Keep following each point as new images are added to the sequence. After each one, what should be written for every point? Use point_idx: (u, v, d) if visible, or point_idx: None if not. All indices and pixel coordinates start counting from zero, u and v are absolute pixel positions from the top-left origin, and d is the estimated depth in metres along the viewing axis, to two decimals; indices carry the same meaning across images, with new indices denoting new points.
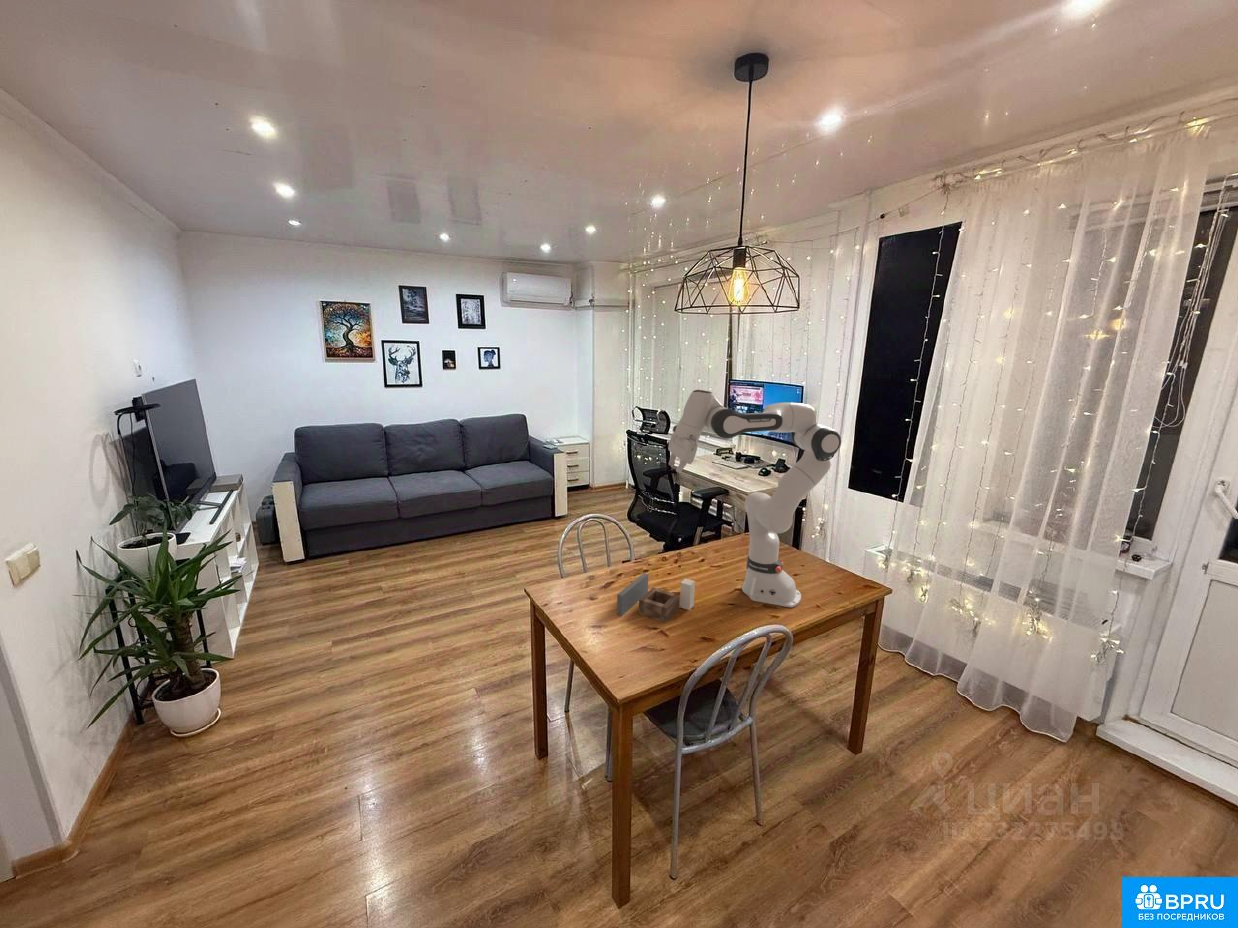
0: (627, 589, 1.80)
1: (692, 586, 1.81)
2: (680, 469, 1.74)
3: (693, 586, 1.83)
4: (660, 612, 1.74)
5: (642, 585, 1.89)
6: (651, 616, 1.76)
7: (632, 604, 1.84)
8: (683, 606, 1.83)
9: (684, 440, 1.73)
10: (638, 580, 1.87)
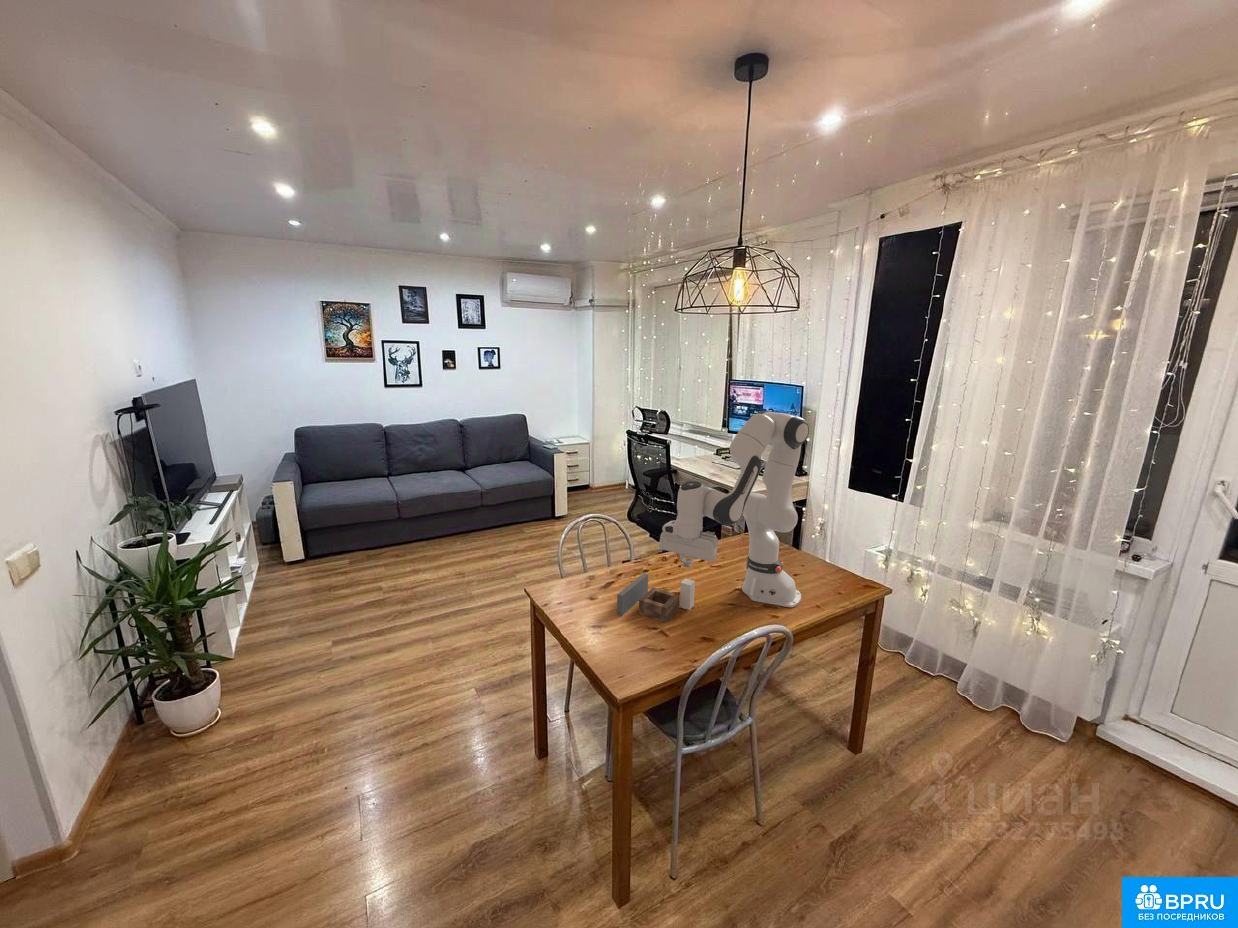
0: (627, 589, 1.80)
1: (692, 586, 1.81)
2: (691, 563, 1.70)
3: (693, 586, 1.83)
4: (660, 612, 1.74)
5: (642, 585, 1.89)
6: (651, 616, 1.76)
7: (632, 604, 1.84)
8: (683, 606, 1.83)
9: (697, 540, 1.65)
10: (638, 580, 1.87)
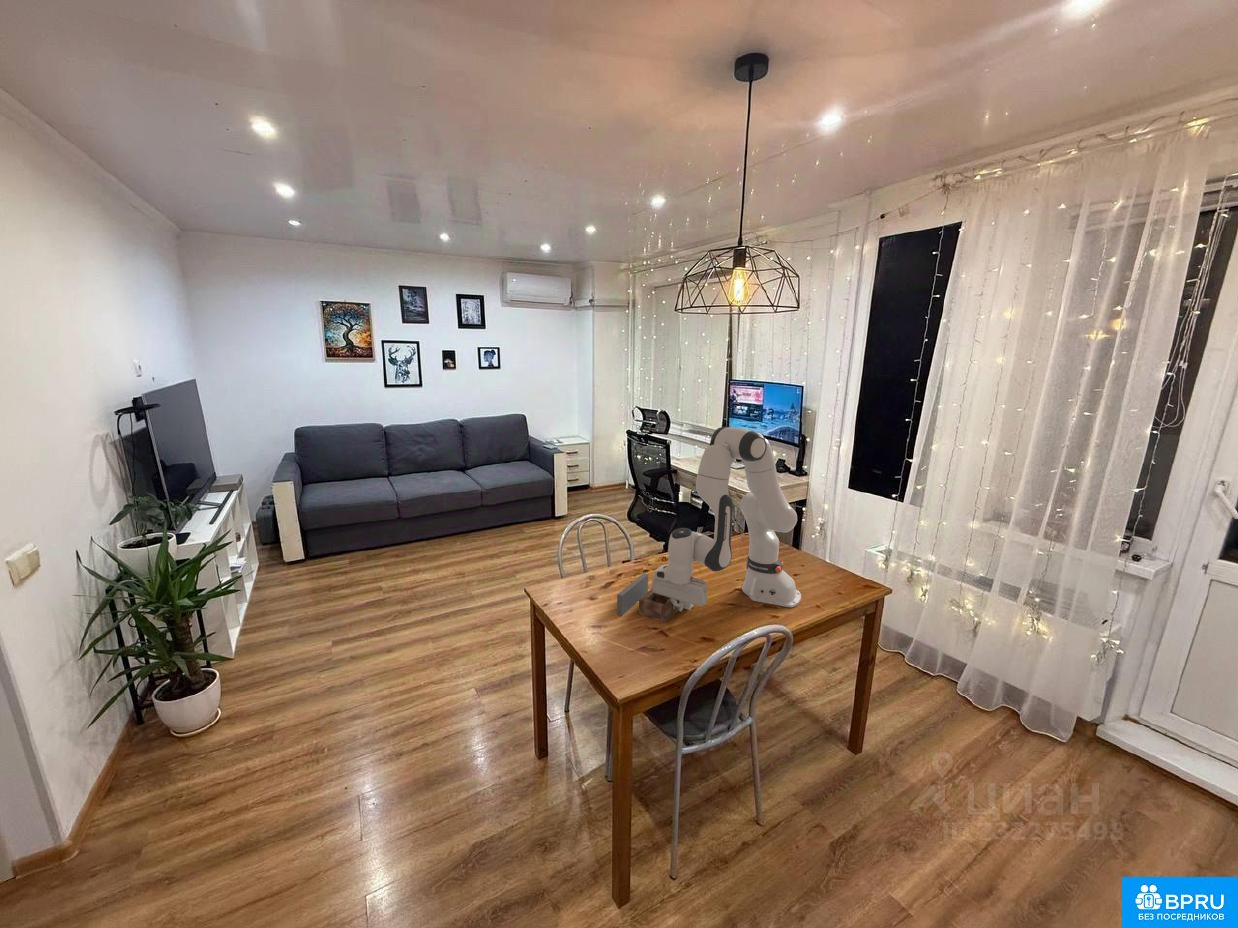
0: (627, 589, 1.80)
1: None
2: (682, 607, 1.75)
3: None
4: (660, 612, 1.74)
5: (642, 585, 1.89)
6: (651, 616, 1.76)
7: (632, 604, 1.84)
8: (683, 606, 1.83)
9: (688, 585, 1.70)
10: (638, 580, 1.87)
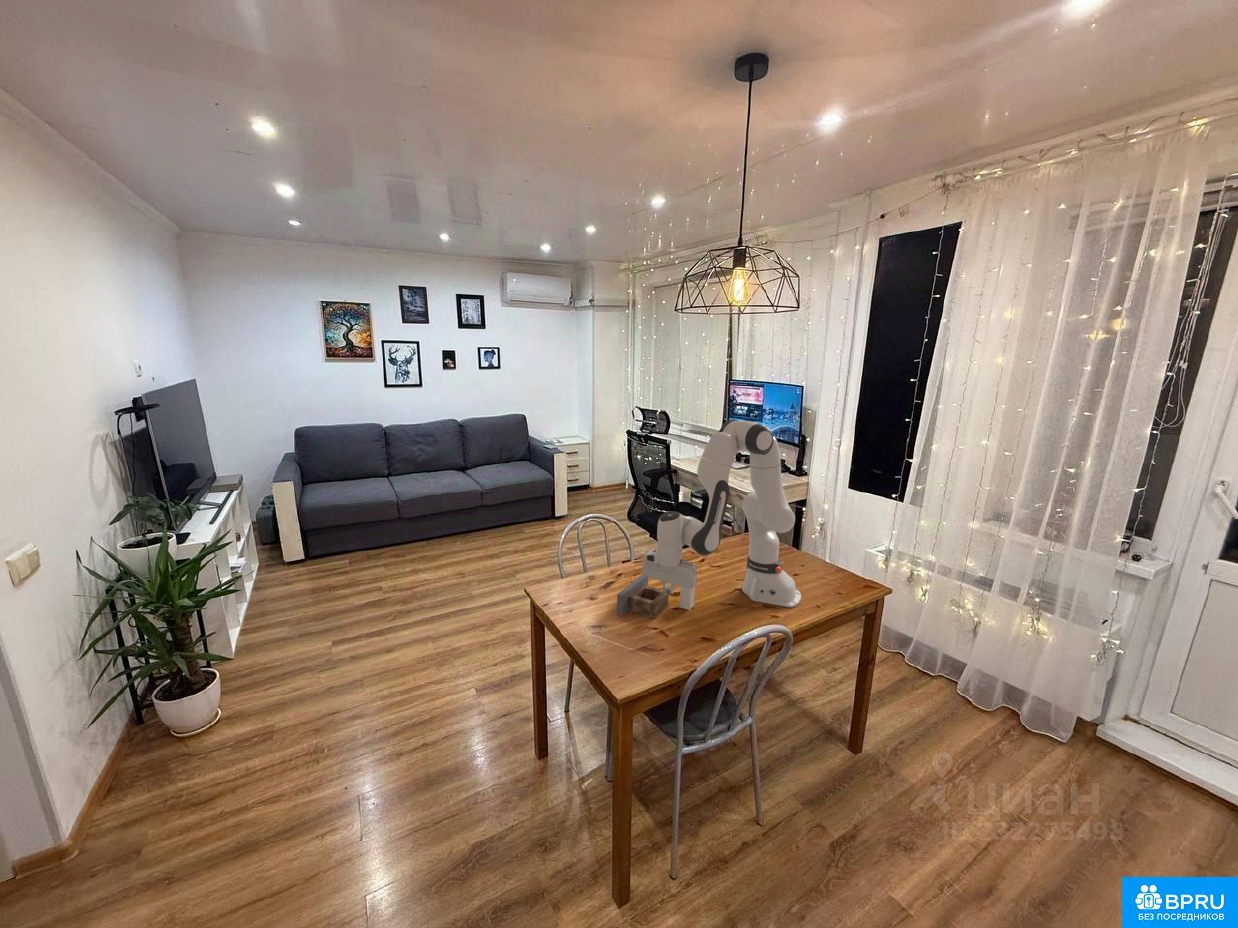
0: (627, 589, 1.80)
1: None
2: (673, 590, 1.77)
3: None
4: (648, 608, 1.76)
5: None
6: (640, 612, 1.78)
7: None
8: (683, 606, 1.83)
9: (678, 568, 1.71)
10: (638, 580, 1.87)
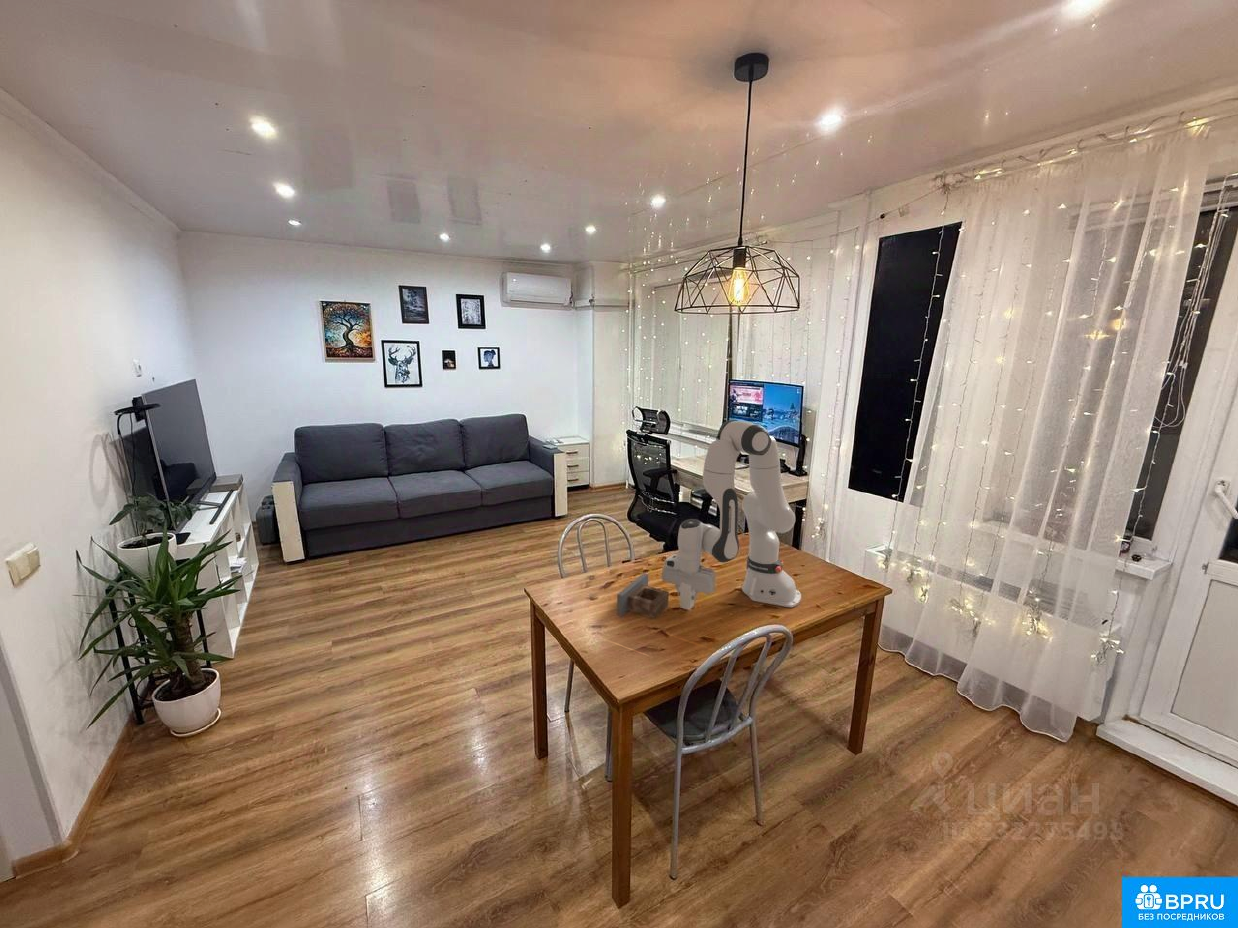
0: (627, 589, 1.80)
1: None
2: (696, 596, 1.82)
3: None
4: (648, 608, 1.76)
5: None
6: (640, 612, 1.78)
7: None
8: (683, 606, 1.83)
9: (697, 574, 1.78)
10: (638, 580, 1.87)
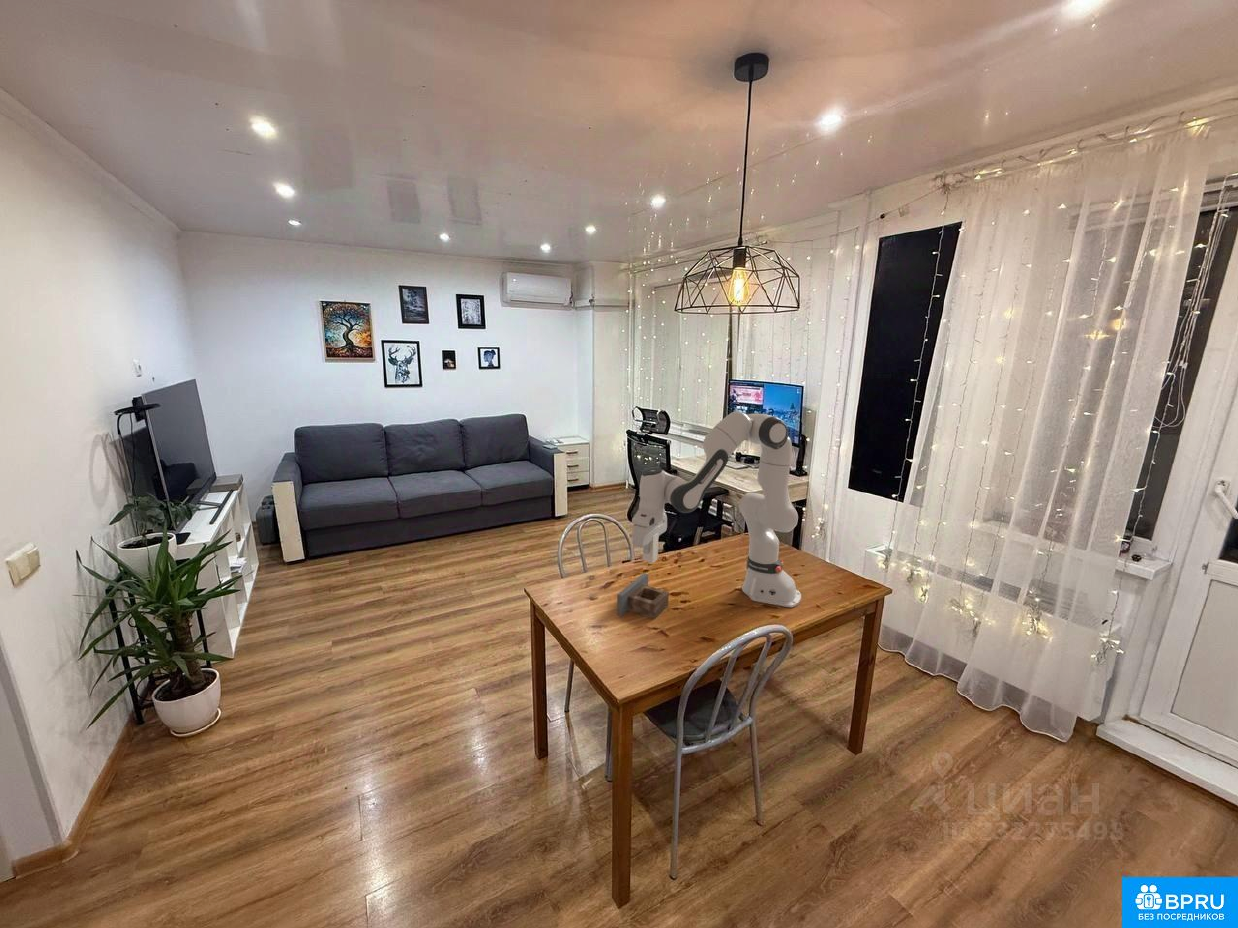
0: (627, 589, 1.80)
1: None
2: None
3: None
4: (648, 608, 1.76)
5: None
6: (640, 612, 1.78)
7: None
8: (654, 559, 1.77)
9: None
10: (638, 580, 1.87)
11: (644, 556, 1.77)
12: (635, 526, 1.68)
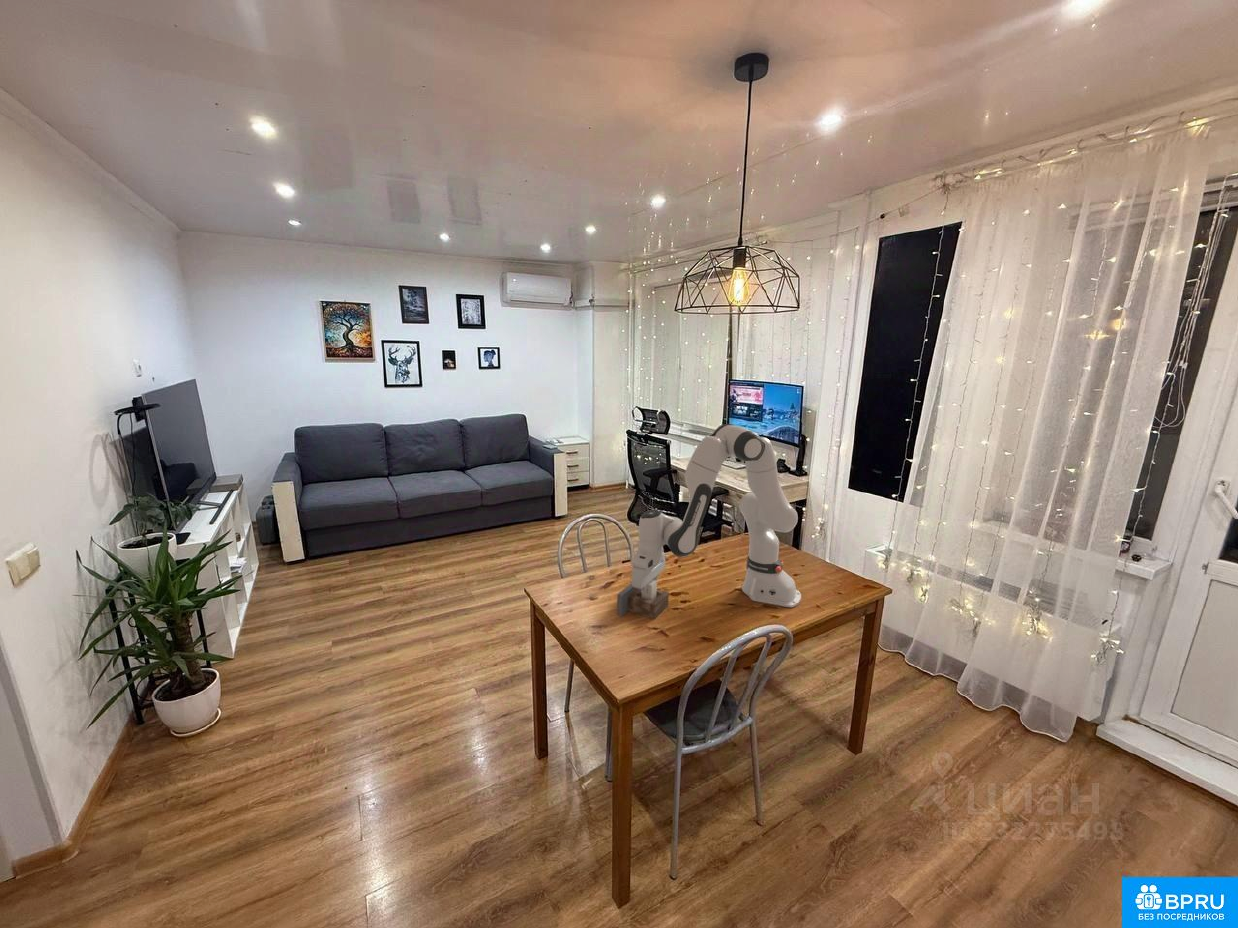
0: (627, 589, 1.80)
1: None
2: None
3: None
4: (648, 609, 1.76)
5: None
6: (640, 613, 1.78)
7: None
8: None
9: None
10: None
11: None
12: (634, 568, 1.72)
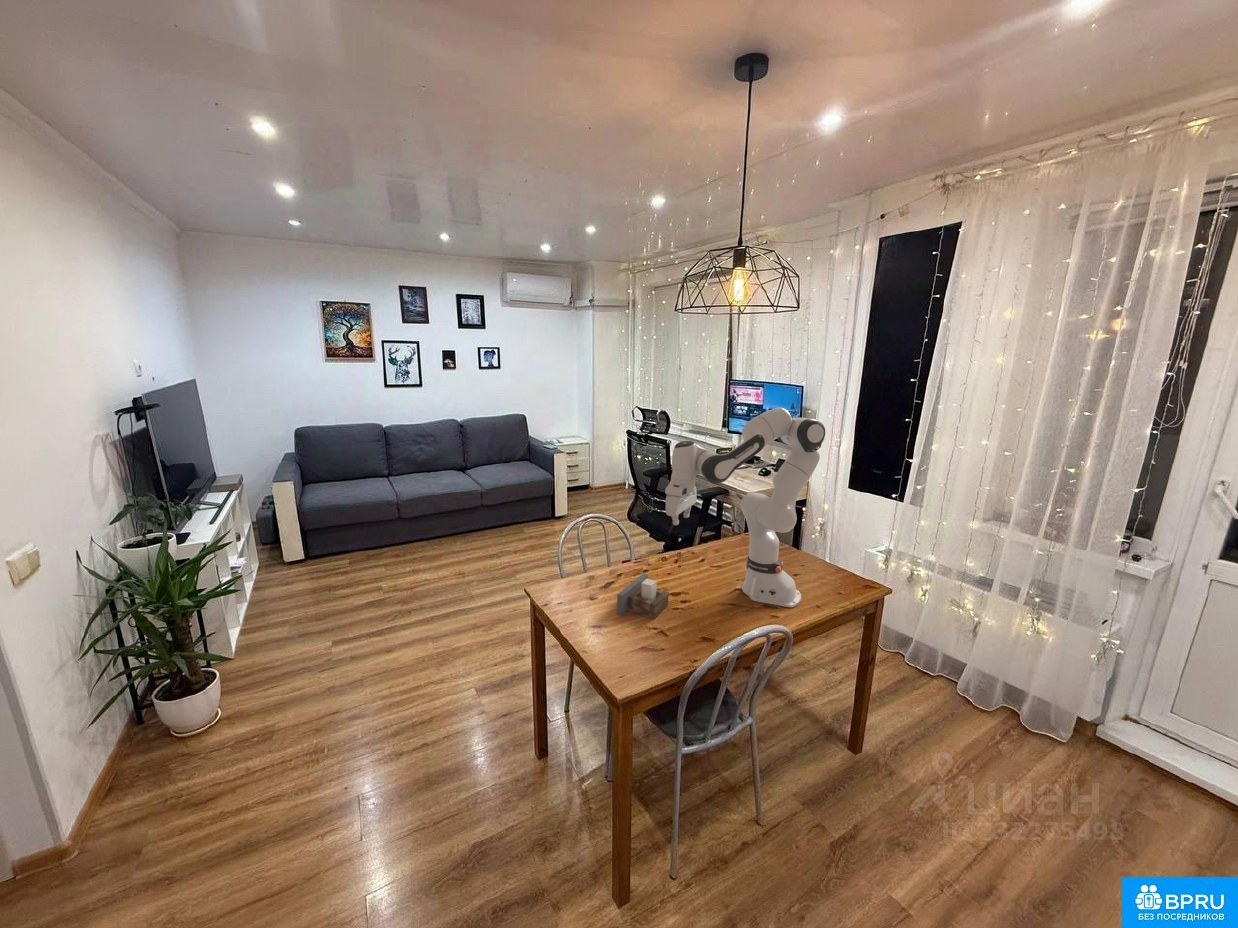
0: (627, 589, 1.80)
1: None
2: None
3: None
4: (648, 609, 1.76)
5: None
6: (640, 613, 1.78)
7: None
8: None
9: None
10: (638, 580, 1.87)
11: None
12: (668, 496, 1.75)
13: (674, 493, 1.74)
